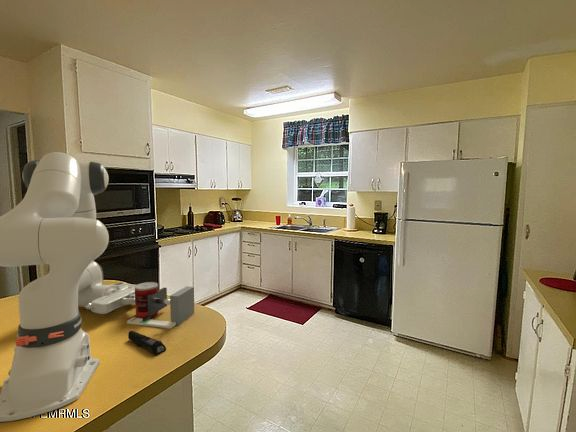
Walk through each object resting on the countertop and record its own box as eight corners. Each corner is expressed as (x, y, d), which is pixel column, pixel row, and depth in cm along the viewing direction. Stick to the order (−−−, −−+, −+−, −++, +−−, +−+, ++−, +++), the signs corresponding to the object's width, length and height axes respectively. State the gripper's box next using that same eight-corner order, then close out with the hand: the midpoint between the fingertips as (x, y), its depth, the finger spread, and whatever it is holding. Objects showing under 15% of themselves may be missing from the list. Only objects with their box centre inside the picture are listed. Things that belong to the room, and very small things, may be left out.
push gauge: (127, 323, 101) (125, 295, 100) (152, 308, 113) (151, 283, 112) (173, 329, 96) (172, 299, 96) (194, 313, 109) (193, 287, 108)
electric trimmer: (137, 337, 92) (136, 327, 92) (167, 351, 84) (167, 340, 83) (125, 342, 89) (124, 332, 89) (155, 357, 81) (154, 346, 80)
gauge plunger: (142, 321, 100) (141, 298, 99) (164, 307, 111) (163, 287, 111) (160, 323, 98) (159, 300, 97) (181, 309, 110) (180, 288, 109)
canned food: (152, 308, 113) (151, 280, 112) (163, 313, 108) (162, 284, 107) (131, 314, 107) (130, 285, 106) (142, 320, 102) (140, 290, 101)
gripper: (81, 298, 101) (115, 302, 98) (126, 281, 121) (155, 283, 118) (82, 316, 102) (115, 320, 99) (126, 295, 121) (155, 298, 118)
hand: (137, 300), depth 108 cm, fingers closed, pressing on canned food
